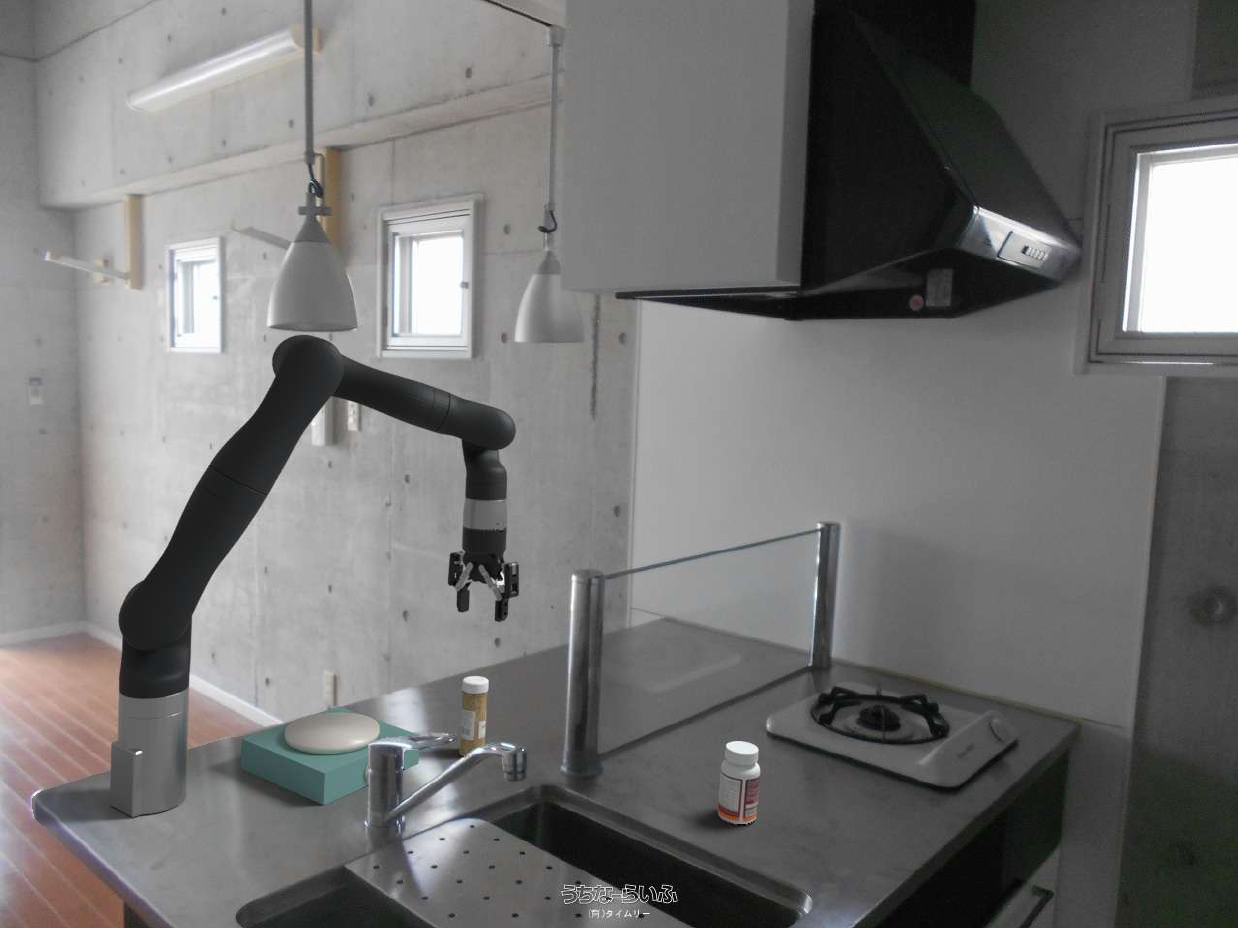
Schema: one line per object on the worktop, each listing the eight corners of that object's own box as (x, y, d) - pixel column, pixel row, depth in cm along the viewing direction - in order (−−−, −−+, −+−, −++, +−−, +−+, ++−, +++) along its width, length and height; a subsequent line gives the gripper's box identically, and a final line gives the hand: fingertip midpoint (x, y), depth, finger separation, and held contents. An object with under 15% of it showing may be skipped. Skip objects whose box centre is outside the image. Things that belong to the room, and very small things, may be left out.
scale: (326, 806, 136) (327, 774, 136) (240, 768, 147) (241, 738, 147) (420, 764, 153) (422, 735, 153) (338, 732, 164) (339, 706, 164)
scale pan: (327, 762, 140) (327, 754, 140) (264, 737, 147) (265, 729, 147) (398, 734, 152) (398, 727, 152) (337, 712, 160) (338, 705, 160)
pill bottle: (753, 808, 145) (759, 740, 144) (759, 827, 139) (765, 756, 138) (715, 806, 145) (720, 738, 144) (719, 824, 139) (724, 753, 138)
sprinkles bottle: (488, 756, 158) (493, 681, 157) (464, 760, 156) (469, 684, 155) (478, 746, 162) (482, 673, 161) (454, 750, 160) (458, 676, 159)
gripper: (439, 521, 156) (436, 612, 157) (502, 532, 148) (498, 628, 150) (469, 516, 162) (466, 605, 164) (531, 527, 154) (527, 619, 156)
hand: (481, 616), depth 157 cm, fingers open, 8 cm apart
